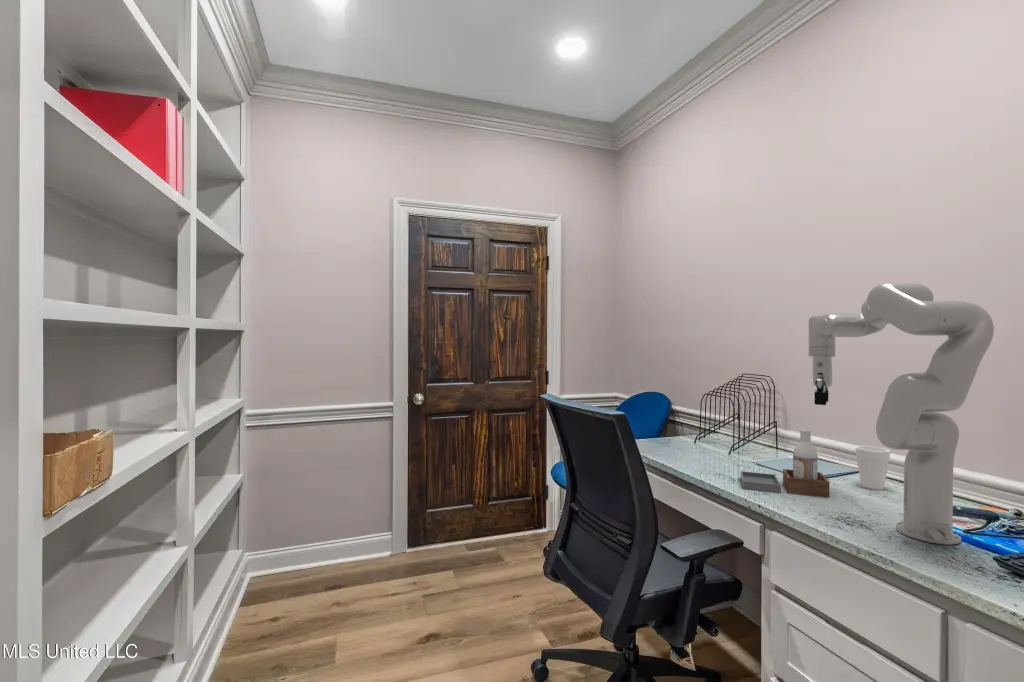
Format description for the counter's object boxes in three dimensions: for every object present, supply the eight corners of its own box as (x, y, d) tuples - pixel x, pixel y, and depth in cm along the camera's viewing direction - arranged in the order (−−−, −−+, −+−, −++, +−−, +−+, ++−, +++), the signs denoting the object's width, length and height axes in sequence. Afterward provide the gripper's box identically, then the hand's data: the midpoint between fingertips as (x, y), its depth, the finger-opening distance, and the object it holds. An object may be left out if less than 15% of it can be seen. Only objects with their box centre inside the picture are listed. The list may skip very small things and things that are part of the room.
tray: (780, 493, 155) (780, 485, 155) (743, 488, 159) (743, 481, 159) (775, 481, 167) (775, 474, 167) (740, 478, 171) (740, 471, 171)
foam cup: (896, 492, 156) (896, 452, 156) (864, 490, 158) (864, 451, 158) (879, 483, 166) (880, 446, 165) (850, 481, 167) (850, 445, 167)
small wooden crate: (829, 497, 151) (829, 481, 151) (788, 493, 155) (788, 477, 155) (821, 487, 161) (821, 472, 161) (782, 483, 165) (783, 469, 165)
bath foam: (788, 488, 160) (788, 428, 160) (803, 486, 162) (804, 427, 162) (806, 494, 154) (806, 432, 154) (822, 492, 156) (822, 431, 156)
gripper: (833, 352, 150) (833, 407, 150) (836, 351, 164) (836, 401, 164) (805, 352, 155) (805, 405, 155) (811, 351, 168) (811, 399, 169)
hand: (821, 403), depth 159 cm, fingers open, 9 cm apart
